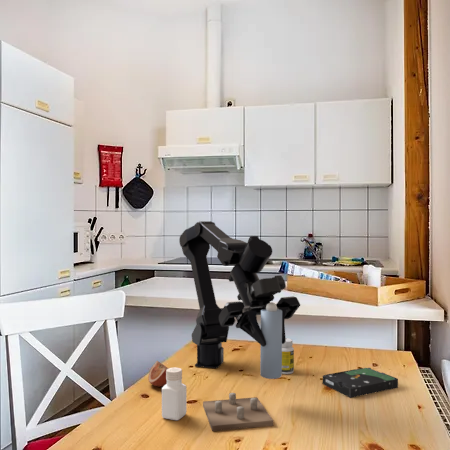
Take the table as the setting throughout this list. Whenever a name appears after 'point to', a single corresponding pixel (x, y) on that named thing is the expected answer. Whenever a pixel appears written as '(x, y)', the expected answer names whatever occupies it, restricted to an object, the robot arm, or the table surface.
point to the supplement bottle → (287, 357)
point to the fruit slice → (158, 374)
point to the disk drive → (359, 382)
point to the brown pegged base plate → (236, 413)
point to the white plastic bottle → (174, 395)
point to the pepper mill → (271, 342)
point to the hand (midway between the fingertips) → (274, 344)
